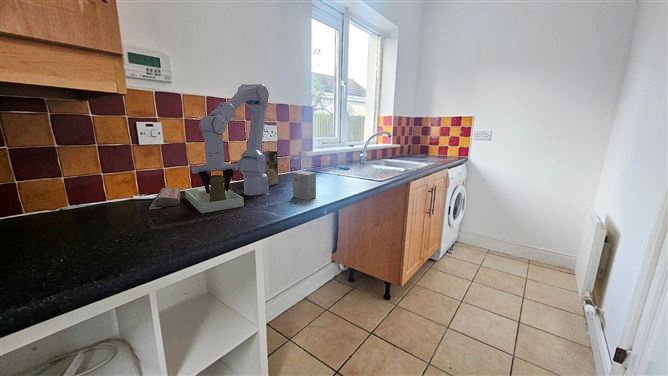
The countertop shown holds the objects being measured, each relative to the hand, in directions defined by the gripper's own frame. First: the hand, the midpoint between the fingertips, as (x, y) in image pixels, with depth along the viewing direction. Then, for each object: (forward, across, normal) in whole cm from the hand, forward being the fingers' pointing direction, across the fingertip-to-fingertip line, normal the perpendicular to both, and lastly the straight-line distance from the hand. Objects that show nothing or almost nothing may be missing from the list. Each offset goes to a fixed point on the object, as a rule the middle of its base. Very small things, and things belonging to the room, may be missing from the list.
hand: (217, 191), depth 97 cm
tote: (+6, 0, +6) cm, 8 cm away
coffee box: (+6, +31, +26) cm, 41 cm away
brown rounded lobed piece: (+5, 0, -1) cm, 5 cm away
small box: (+6, +33, -4) cm, 34 cm away
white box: (+5, 0, +10) cm, 12 cm away
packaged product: (+7, -13, +15) cm, 21 cm away
